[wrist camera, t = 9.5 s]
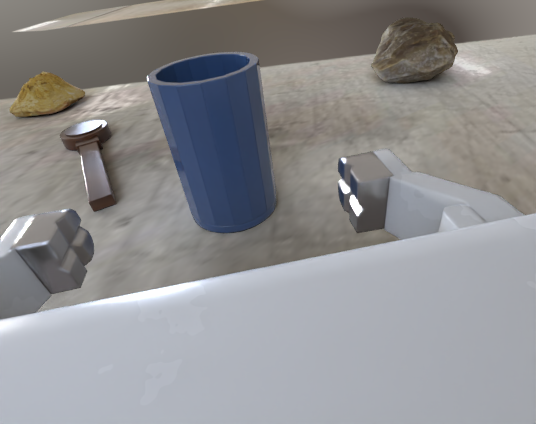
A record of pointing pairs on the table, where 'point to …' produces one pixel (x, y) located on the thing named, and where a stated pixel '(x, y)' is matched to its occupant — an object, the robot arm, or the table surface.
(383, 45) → the stone
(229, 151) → the cup
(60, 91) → the fossil
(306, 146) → the table surface
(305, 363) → the robot arm
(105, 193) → the spoon
